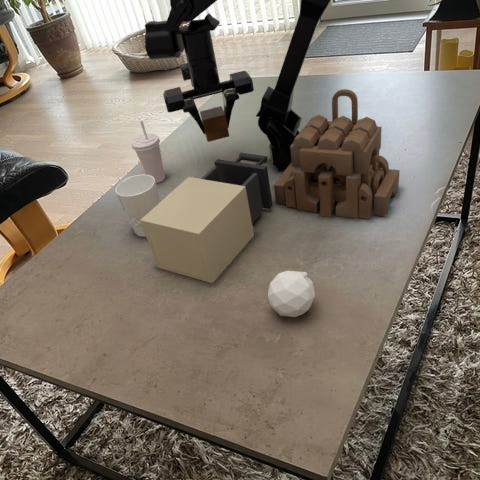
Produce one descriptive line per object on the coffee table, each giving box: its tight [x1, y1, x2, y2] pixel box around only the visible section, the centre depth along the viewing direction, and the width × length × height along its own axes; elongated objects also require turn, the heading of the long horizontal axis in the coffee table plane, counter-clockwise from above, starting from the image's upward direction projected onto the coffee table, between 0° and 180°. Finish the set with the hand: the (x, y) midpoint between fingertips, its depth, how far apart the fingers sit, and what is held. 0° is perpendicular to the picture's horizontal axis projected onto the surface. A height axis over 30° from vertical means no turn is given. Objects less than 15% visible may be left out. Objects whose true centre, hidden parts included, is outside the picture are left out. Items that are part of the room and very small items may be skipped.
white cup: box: [114, 173, 162, 238], centre depth 97 cm, size 8×8×10 cm
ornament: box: [267, 270, 316, 318], centre depth 74 cm, size 7×7×8 cm
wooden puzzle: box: [273, 88, 400, 220], centre depth 91 cm, size 22×15×19 cm, turn 63°
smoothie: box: [131, 120, 166, 184], centre depth 110 cm, size 6×6×14 cm
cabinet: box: [140, 176, 255, 284], centre depth 88 cm, size 15×13×11 cm
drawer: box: [200, 152, 274, 224], centre depth 94 cm, size 18×11×9 cm, turn 148°
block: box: [199, 105, 230, 143], centre depth 108 cm, size 5×5×5 cm
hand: (216, 130), depth 109 cm, fingers closed on block, 5 cm apart
